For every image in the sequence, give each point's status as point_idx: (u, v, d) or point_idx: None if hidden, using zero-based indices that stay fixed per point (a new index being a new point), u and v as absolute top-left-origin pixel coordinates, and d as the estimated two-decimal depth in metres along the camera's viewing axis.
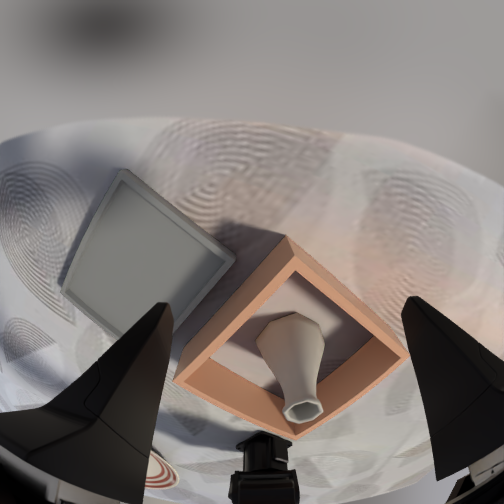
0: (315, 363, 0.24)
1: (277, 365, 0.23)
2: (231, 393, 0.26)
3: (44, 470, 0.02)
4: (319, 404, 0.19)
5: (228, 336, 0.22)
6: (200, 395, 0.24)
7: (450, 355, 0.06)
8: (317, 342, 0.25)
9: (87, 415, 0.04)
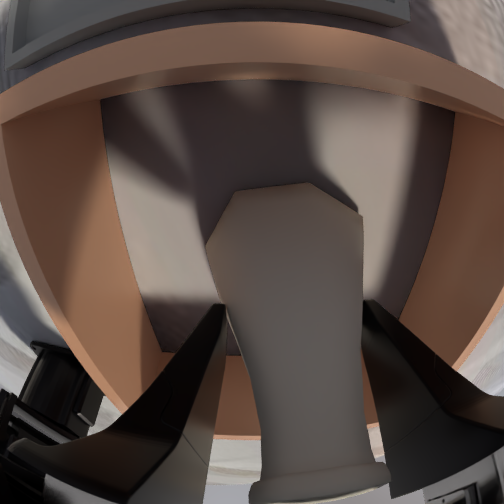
0: None
1: (290, 298, 0.07)
2: (84, 266, 0.09)
3: None
4: (372, 489, 0.04)
5: (327, 59, 0.04)
6: (9, 209, 0.05)
7: (400, 367, 0.06)
8: None
9: (168, 433, 0.04)
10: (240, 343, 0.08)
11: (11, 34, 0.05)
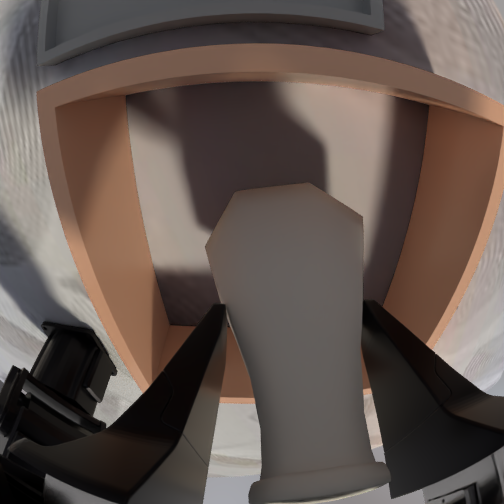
0: None
1: (290, 297, 0.07)
2: (110, 232, 0.11)
3: None
4: (372, 489, 0.04)
5: (305, 68, 0.06)
6: (55, 176, 0.07)
7: (400, 367, 0.06)
8: None
9: (168, 433, 0.04)
10: (240, 343, 0.08)
11: (43, 35, 0.07)
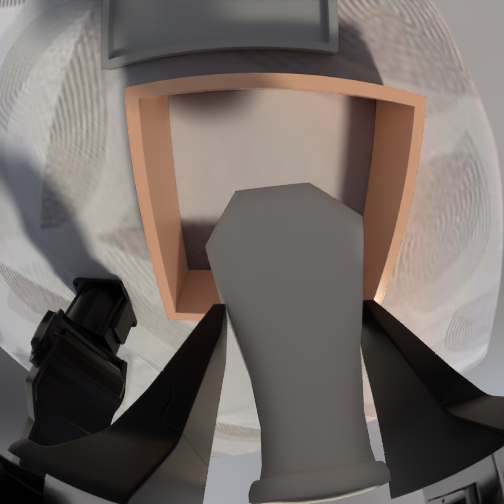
0: None
1: (290, 297, 0.07)
2: (160, 182, 0.17)
3: None
4: (371, 488, 0.04)
5: (280, 85, 0.12)
6: (134, 140, 0.13)
7: (400, 367, 0.06)
8: None
9: (168, 433, 0.04)
10: (240, 342, 0.08)
11: (106, 47, 0.13)
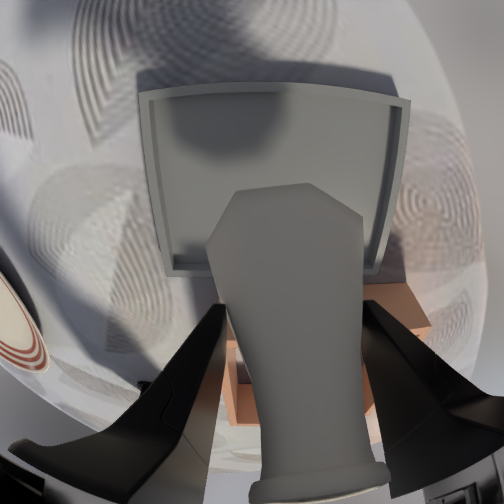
0: None
1: (290, 297, 0.07)
2: (232, 366, 0.23)
3: None
4: (372, 489, 0.04)
5: None
6: None
7: (400, 367, 0.06)
8: None
9: (168, 433, 0.04)
10: (240, 343, 0.08)
11: (168, 257, 0.19)
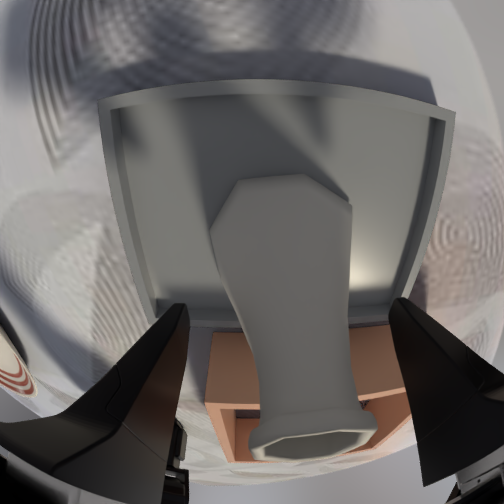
0: None
1: (285, 267, 0.09)
2: (228, 414, 0.19)
3: (70, 483, 0.02)
4: (361, 444, 0.06)
5: None
6: (216, 421, 0.15)
7: (436, 359, 0.06)
8: None
9: (110, 422, 0.04)
10: (241, 309, 0.09)
11: (149, 305, 0.15)
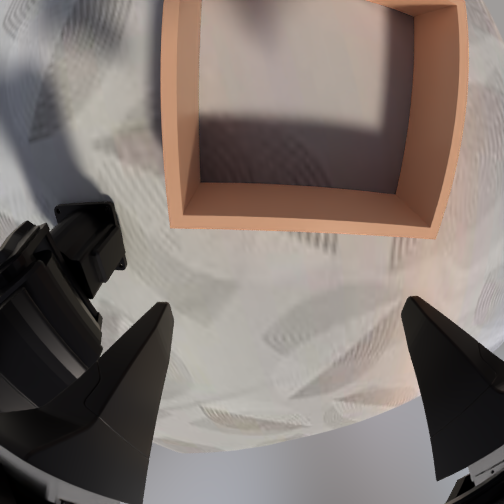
0: None
1: None
2: (187, 44, 0.11)
3: (44, 470, 0.02)
4: None
5: None
6: None
7: (450, 355, 0.06)
8: None
9: (87, 415, 0.04)
10: None
11: None
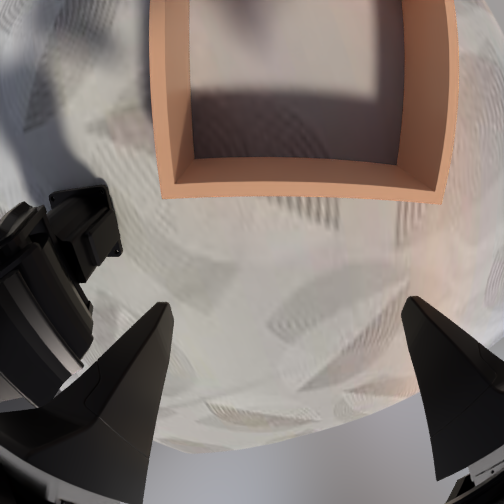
0: None
1: None
2: (175, 19, 0.10)
3: (44, 470, 0.02)
4: None
5: None
6: None
7: (450, 355, 0.06)
8: None
9: (87, 415, 0.04)
10: None
11: None
